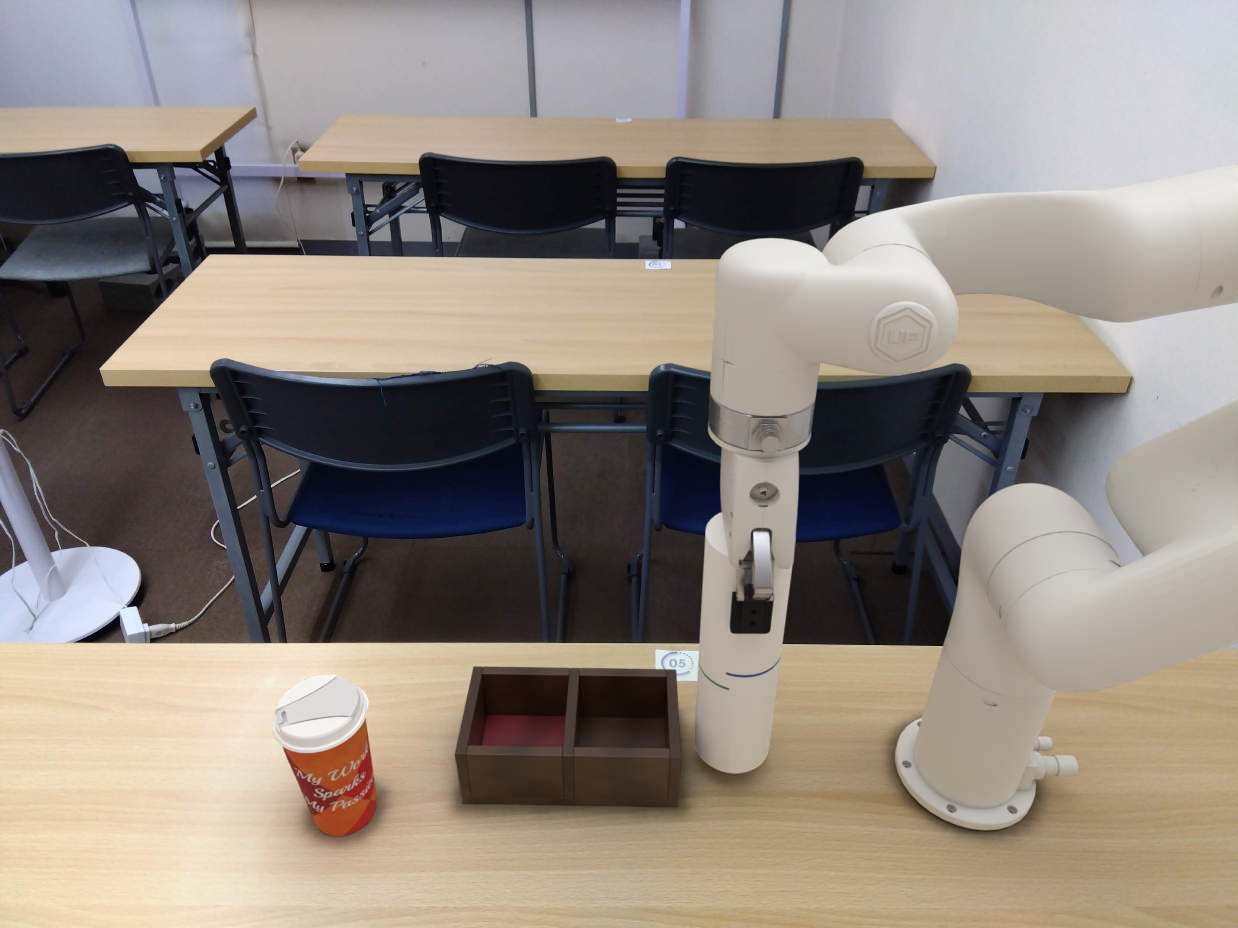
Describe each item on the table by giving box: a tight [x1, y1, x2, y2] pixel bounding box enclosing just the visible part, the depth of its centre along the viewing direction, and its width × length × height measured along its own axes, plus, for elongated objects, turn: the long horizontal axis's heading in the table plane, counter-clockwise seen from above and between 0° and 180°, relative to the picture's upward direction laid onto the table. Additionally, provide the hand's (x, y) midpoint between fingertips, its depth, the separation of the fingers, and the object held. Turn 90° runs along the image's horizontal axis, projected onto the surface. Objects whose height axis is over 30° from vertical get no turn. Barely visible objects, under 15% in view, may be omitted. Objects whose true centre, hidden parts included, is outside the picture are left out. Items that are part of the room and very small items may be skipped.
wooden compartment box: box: [454, 665, 682, 808], centre depth 82 cm, size 20×10×7 cm, turn 89°
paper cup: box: [271, 674, 378, 837], centre depth 75 cm, size 8×8×14 cm
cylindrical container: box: [693, 511, 797, 774], centre depth 75 cm, size 7×7×25 cm
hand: (744, 596), depth 72 cm, fingers closed on cylindrical container, 7 cm apart
